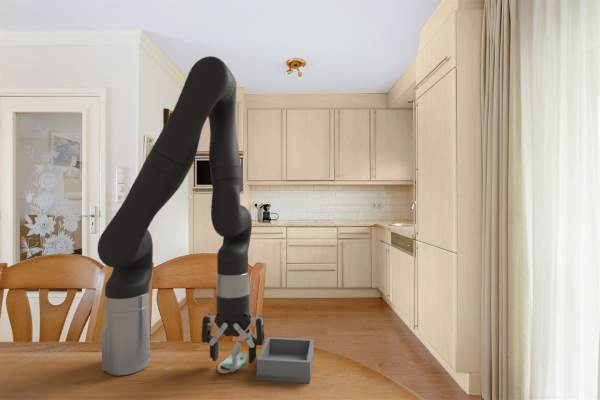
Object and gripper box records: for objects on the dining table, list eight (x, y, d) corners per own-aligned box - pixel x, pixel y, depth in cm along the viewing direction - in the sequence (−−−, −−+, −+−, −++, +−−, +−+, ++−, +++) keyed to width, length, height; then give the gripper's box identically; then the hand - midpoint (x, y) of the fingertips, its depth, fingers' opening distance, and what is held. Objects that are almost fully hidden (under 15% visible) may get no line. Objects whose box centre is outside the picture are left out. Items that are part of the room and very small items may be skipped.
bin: (256, 379, 78) (256, 359, 77) (267, 354, 89) (267, 337, 89) (309, 383, 76) (310, 362, 76) (313, 357, 88) (313, 339, 88)
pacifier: (212, 375, 80) (237, 377, 79) (211, 348, 80) (236, 349, 78) (225, 360, 87) (248, 361, 86) (224, 334, 87) (248, 336, 86)
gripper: (196, 295, 79) (197, 367, 80) (259, 297, 78) (259, 370, 78) (208, 286, 86) (209, 351, 87) (266, 287, 85) (266, 354, 86)
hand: (233, 360), depth 83 cm, fingers open, 8 cm apart
